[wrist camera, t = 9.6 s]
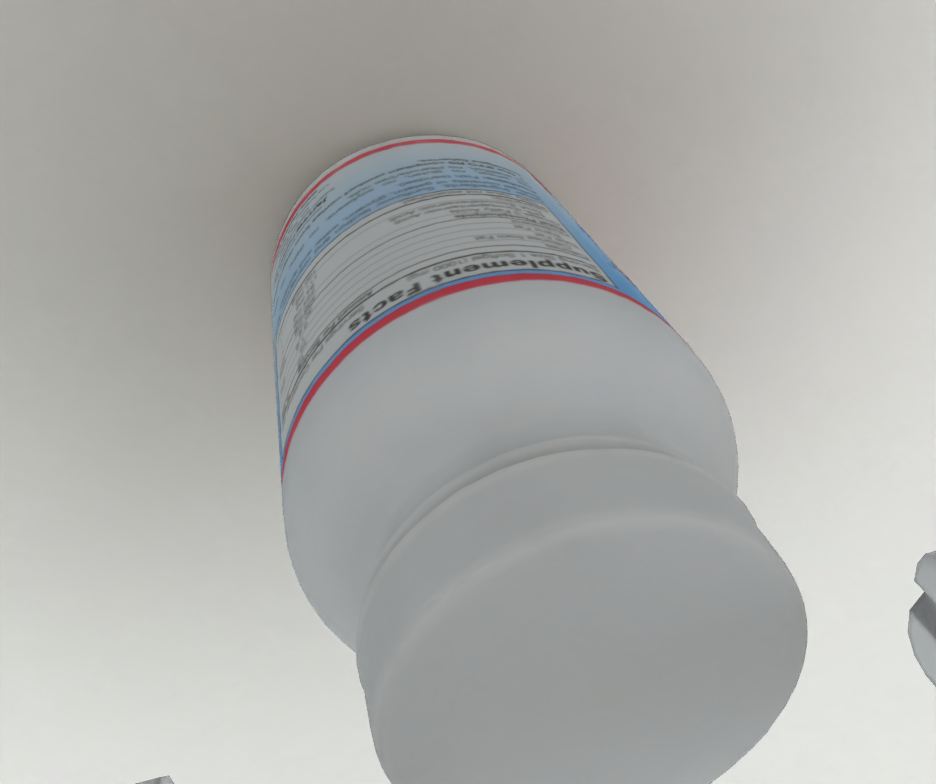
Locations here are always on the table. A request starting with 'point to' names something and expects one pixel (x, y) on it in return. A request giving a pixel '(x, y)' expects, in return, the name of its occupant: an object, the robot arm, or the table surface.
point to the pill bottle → (515, 486)
